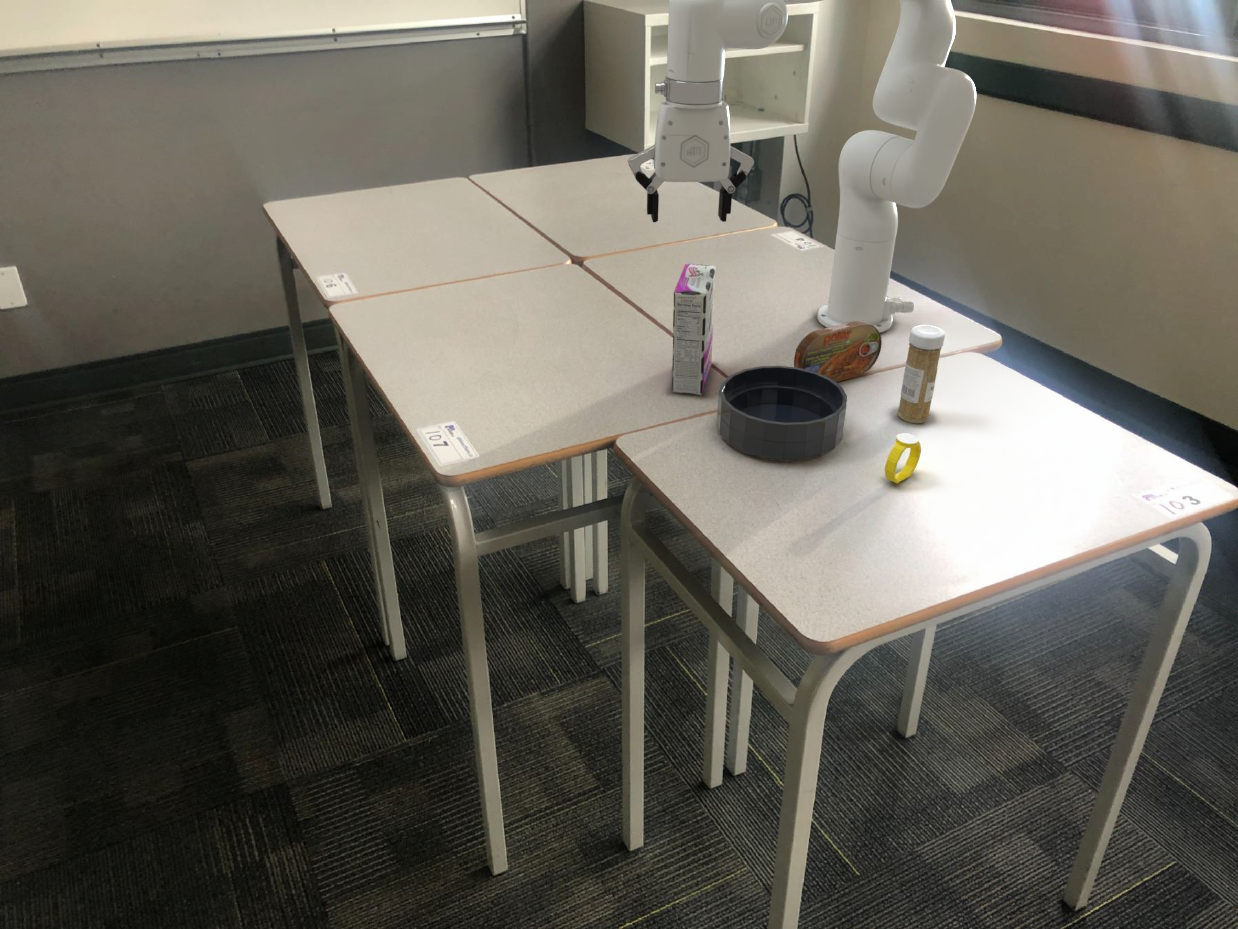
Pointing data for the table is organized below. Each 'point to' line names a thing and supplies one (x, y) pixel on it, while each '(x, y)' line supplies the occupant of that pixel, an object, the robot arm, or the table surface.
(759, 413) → the bowl
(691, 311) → the candy bar box
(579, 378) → the table surface
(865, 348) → the tin
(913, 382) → the spice jar
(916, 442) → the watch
